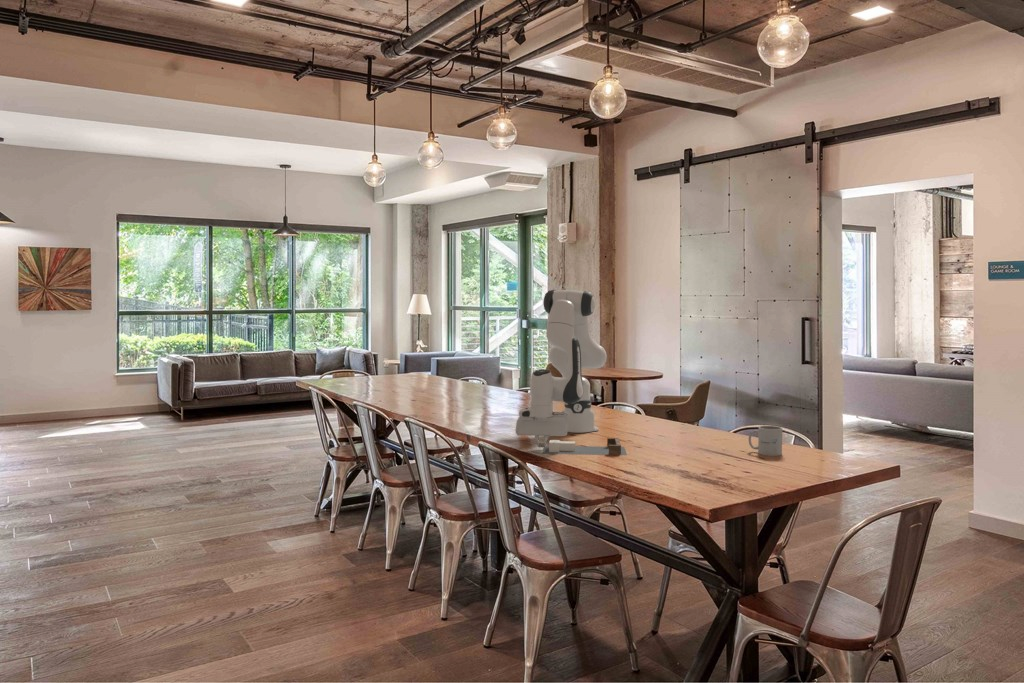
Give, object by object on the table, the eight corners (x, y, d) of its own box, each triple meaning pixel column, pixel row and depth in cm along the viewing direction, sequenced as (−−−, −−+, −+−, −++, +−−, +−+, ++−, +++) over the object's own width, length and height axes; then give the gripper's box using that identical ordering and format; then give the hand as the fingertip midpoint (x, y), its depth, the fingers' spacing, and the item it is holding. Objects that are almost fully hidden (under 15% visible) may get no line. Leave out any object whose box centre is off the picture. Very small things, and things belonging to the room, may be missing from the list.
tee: (549, 447, 297) (549, 439, 297) (575, 447, 296) (575, 440, 296) (548, 451, 288) (548, 444, 288) (575, 452, 287) (575, 444, 287)
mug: (785, 453, 287) (786, 427, 287) (775, 456, 281) (776, 430, 281) (755, 449, 296) (755, 424, 295) (745, 452, 290) (745, 426, 289)
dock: (607, 446, 299) (607, 437, 299) (618, 446, 298) (618, 438, 298) (608, 454, 283) (608, 445, 283) (620, 454, 282) (621, 445, 282)
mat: (543, 446, 301) (543, 445, 301) (624, 448, 298) (624, 446, 298) (542, 454, 285) (542, 453, 285) (626, 456, 282) (626, 454, 282)
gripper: (568, 410, 295) (568, 445, 295) (516, 410, 296) (516, 444, 297) (568, 413, 288) (568, 448, 289) (515, 412, 290) (515, 448, 291)
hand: (541, 446), depth 293 cm, fingers closed
